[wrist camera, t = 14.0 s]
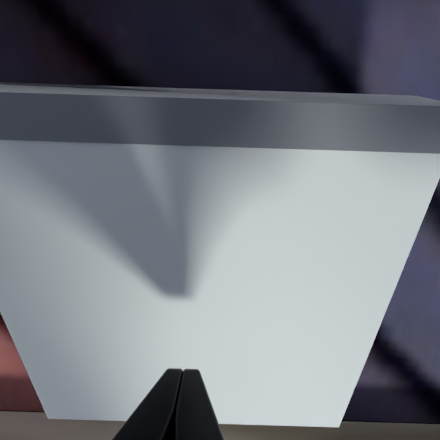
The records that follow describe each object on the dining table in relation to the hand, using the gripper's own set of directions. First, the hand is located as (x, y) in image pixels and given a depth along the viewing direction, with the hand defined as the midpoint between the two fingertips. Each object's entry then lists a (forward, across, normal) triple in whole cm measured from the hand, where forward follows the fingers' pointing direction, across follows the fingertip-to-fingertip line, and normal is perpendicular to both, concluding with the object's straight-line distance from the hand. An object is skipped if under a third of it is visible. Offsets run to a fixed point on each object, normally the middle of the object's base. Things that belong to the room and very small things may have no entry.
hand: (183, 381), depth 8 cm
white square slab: (+4, 0, +5) cm, 6 cm away
